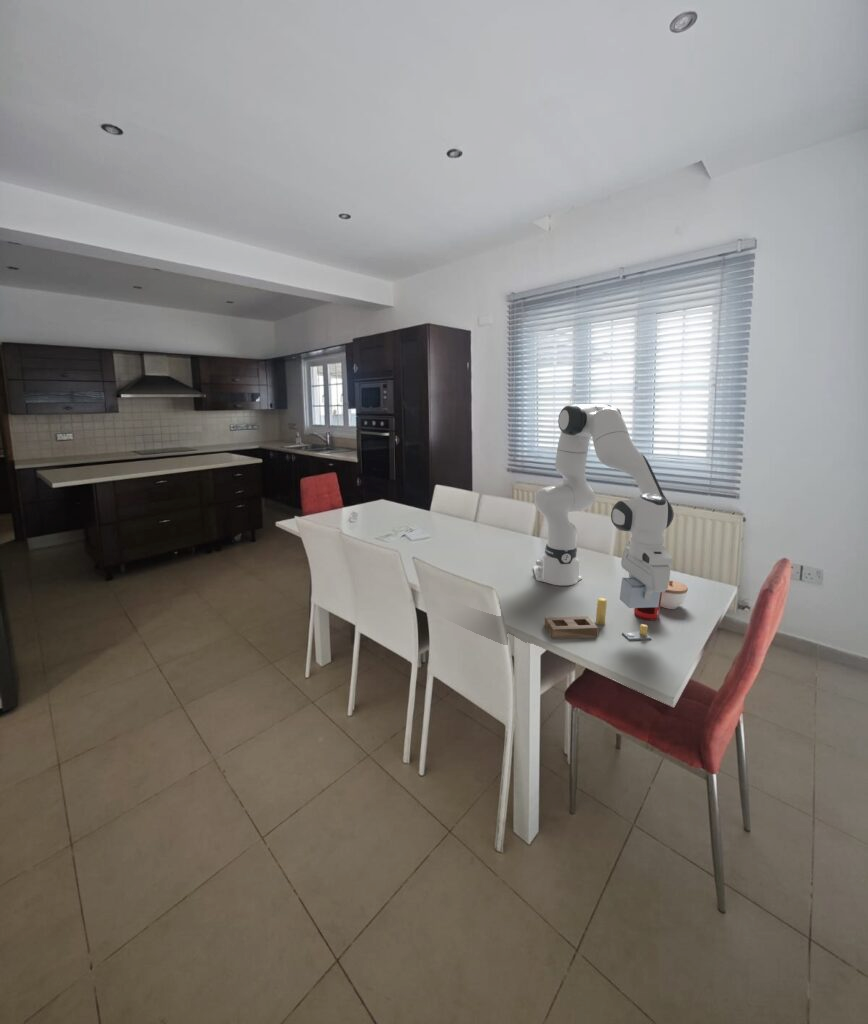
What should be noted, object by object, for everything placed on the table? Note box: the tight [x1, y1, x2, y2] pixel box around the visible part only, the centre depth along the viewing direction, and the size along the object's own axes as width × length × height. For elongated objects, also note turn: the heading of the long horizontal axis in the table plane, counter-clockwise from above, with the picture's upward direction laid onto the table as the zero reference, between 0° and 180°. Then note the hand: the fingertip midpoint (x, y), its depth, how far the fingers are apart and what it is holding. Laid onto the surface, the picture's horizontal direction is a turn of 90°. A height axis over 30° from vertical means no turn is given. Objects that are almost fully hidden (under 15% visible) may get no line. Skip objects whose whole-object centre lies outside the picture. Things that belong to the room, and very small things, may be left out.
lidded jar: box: [660, 579, 689, 610], centre depth 161 cm, size 11×11×9 cm
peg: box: [595, 597, 608, 625], centre depth 148 cm, size 3×3×8 cm
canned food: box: [633, 592, 662, 621], centre depth 153 cm, size 8×8×11 cm
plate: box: [622, 623, 652, 641], centre depth 139 cm, size 4×7×4 cm, turn 95°
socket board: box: [543, 615, 599, 640], centre depth 143 cm, size 8×14×3 cm, turn 95°
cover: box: [619, 577, 661, 609], centre depth 137 cm, size 6×9×8 cm, turn 95°
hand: (640, 593), depth 137 cm, fingers closed on cover, 6 cm apart
